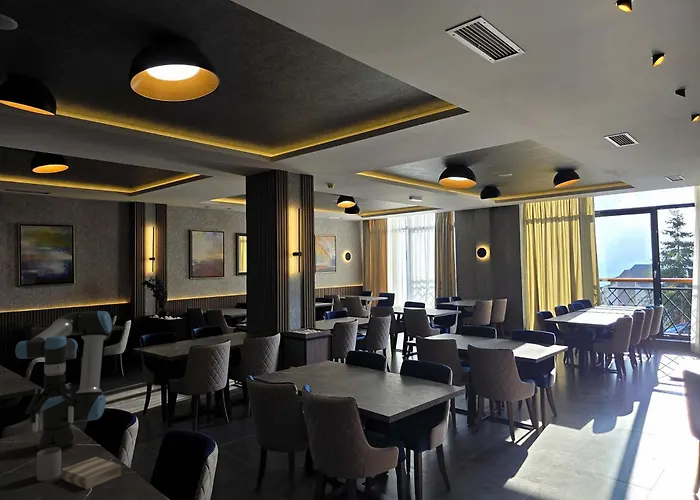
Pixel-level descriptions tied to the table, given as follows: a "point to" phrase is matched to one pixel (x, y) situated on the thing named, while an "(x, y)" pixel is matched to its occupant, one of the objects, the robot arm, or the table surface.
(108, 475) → the oak stand
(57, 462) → the cup
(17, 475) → the table surface
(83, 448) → the table surface
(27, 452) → the table surface
